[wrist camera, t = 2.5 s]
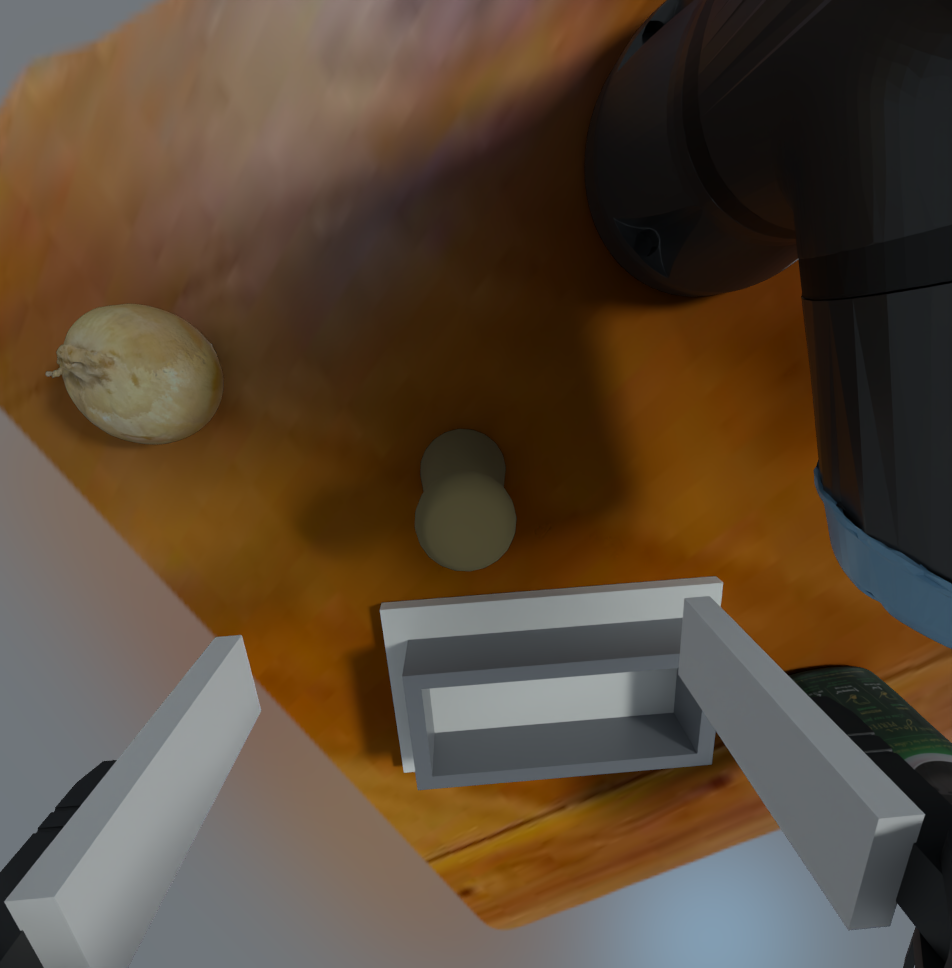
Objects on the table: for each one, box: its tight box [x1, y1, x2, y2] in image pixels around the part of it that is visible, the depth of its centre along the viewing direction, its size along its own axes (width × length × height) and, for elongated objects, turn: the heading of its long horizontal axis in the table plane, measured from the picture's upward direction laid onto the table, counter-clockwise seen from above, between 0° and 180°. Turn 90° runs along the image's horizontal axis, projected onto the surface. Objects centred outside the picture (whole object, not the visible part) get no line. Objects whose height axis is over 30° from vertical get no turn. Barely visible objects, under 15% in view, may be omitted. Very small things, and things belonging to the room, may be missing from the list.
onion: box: [46, 304, 224, 444], centre depth 26 cm, size 8×8×7 cm
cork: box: [415, 429, 517, 571], centre depth 27 cm, size 6×6×11 cm
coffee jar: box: [789, 666, 952, 804], centre depth 31 cm, size 10×8×19 cm
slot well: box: [380, 576, 723, 790], centre depth 36 cm, size 26×16×5 cm, turn 94°
